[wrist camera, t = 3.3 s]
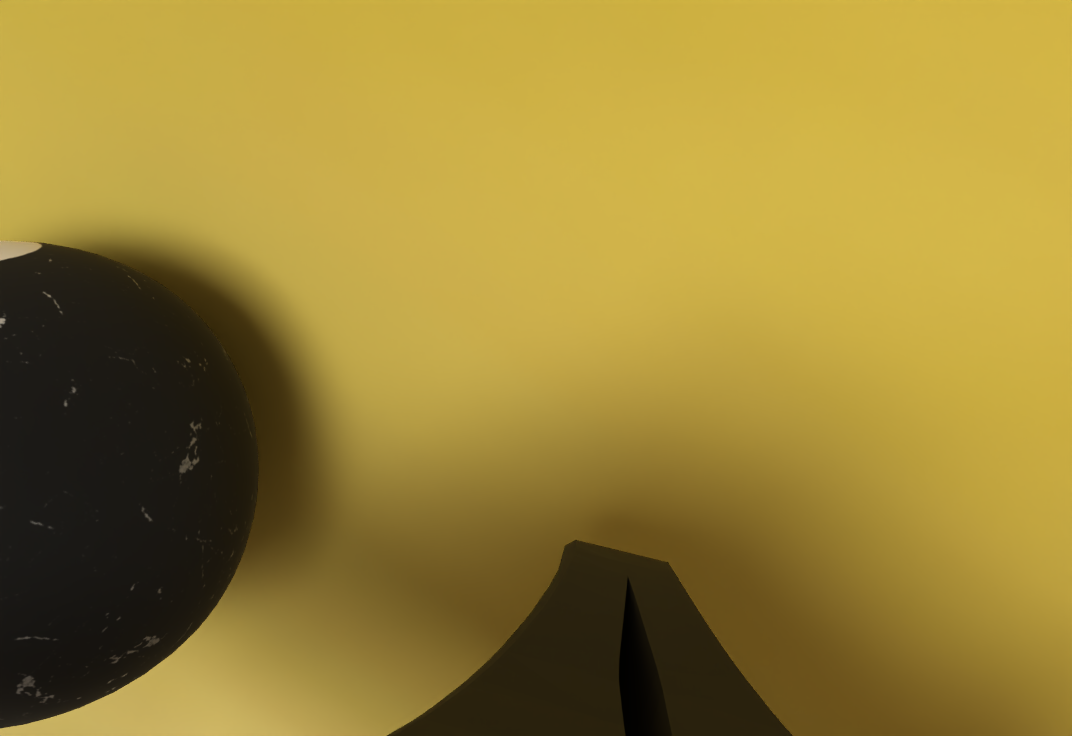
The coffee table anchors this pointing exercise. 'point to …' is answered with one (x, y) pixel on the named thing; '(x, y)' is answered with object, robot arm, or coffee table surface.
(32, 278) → the billiard ball
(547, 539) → the coffee table surface
